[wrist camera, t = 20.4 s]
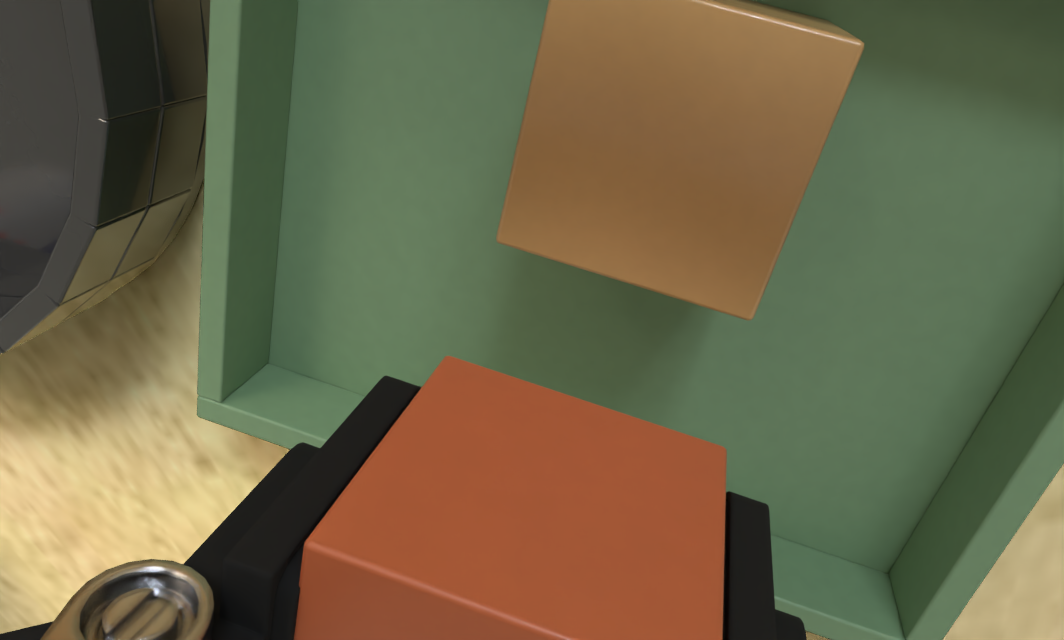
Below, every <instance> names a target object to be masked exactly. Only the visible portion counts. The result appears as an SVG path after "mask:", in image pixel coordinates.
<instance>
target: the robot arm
mask: <svg viewBox="0 0 1064 640" xmlns="http://www.w3.org/2000/svg"><path fill="white" fill-rule="evenodd" d="M420 389H421V387H420V386H417V385H414V384H411V383H408V382H405V381H402V380H399V379H396V378H393V377H390V376H384V377H382V378H381V379H380V380H379V382H378V383H377V384H376V385H375V386H374V387H373V388H372V390H371V391H370V392H369V393H368V394H367V395H366V396H365V398H364V399H363V400H362V401H361V402H360V403H359V404H358V406H357V407H356V408H355V409H354V410H353V411H352V412H351V414H350V415H349V416H348V417H347V418H346V419H345V421H344V422H343V423H342V424H341V425H340V426H339V427H338V429H337V430H336V431H335V432H334V433H333V434H332V435H331V437H330V438H329V439H328V440H327V441H326V442H325V443H324V445H323V446H322V447H321V448H318V447H315V446H313V445H310V444H307V443H304V442H302V443H299V444H297V445H295V446H294V447H293V448H292V449H291V450H290V451H289V452H288V453H287V454H286V455H285V456H284V457H283V458H282V459H281V460H280V461H279V462H278V464H277V465H276V466H275V467H274V468H273V469H272V470H271V471H270V472H269V473H268V474H267V475H266V476H265V477H264V479H263V480H262V481H261V482H260V483H259V484H258V485H257V486H256V487H255V488H254V489H253V490H252V491H251V492H250V494H249V495H248V496H247V497H246V498H245V499H244V500H243V501H242V502H241V503H240V504H239V505H238V506H237V507H236V509H235V510H234V511H233V512H232V513H231V514H230V515H229V516H228V517H227V518H226V519H225V520H224V521H223V522H222V524H221V525H220V526H219V527H218V528H217V529H216V530H215V531H214V532H213V533H212V534H211V535H210V536H209V537H208V539H207V540H206V541H205V542H204V543H203V544H202V545H201V546H200V547H199V548H198V549H197V550H196V551H195V552H194V554H193V555H192V556H191V557H190V558H189V559H188V560H187V561H186V562H185V563H184V564H180V563H177V562H174V561H166V560H154V559H150V560H142V561H134V562H128V563H125V564H122V565H119V566H117V567H114V568H111V569H108V570H106V571H104V572H103V573H101V574H99V575H98V576H96V577H94V578H93V579H91V580H89V581H88V582H87V583H86V584H85V585H84V586H83V587H82V588H81V589H80V590H79V591H78V592H77V593H76V594H75V595H74V596H73V597H72V598H71V599H70V600H69V602H68V603H67V604H66V606H65V607H64V608H63V610H62V611H61V612H60V614H59V615H58V616H57V618H56V619H55V620H54V621H53V622H49V623H45V624H41V625H37V626H32V627H28V628H24V629H20V630H16V631H12V632H7V633H3V634H0V640H294V634H295V626H296V618H297V610H298V602H299V594H300V587H299V580H300V572H301V564H302V556H303V548H304V542H305V541H306V539H307V538H308V537H309V536H310V534H311V533H312V532H313V530H314V529H315V528H316V526H317V525H318V524H319V522H320V521H321V520H322V518H323V517H324V516H325V514H326V513H327V512H328V510H329V509H330V508H331V507H332V505H333V504H334V503H335V501H336V500H337V499H338V497H339V496H340V495H341V493H342V492H343V491H344V489H345V488H346V487H347V485H348V484H349V483H350V481H351V480H352V479H353V477H354V476H355V475H356V474H357V472H358V471H359V470H360V468H361V467H362V466H363V464H364V463H365V462H366V460H367V459H368V458H369V456H370V455H371V454H372V452H373V451H374V450H375V448H376V447H377V446H378V444H379V443H380V442H381V441H382V439H383V438H384V437H385V435H386V434H387V433H388V431H389V430H390V429H391V427H392V426H393V425H394V423H395V422H396V421H397V419H398V418H399V417H400V415H401V414H402V413H403V411H404V410H405V409H406V408H407V406H408V405H409V404H410V402H411V401H412V400H413V398H414V397H415V396H416V394H417V393H418V392H419V390H420ZM723 640H806V632H805V627H804V623H803V621H802V620H801V619H800V618H799V617H796V616H793V615H791V614H788V613H785V612H782V611H779V610H776V609H775V599H774V582H773V565H772V548H771V531H770V514H769V506H768V505H767V504H766V503H763V502H760V501H757V500H754V499H751V498H748V497H745V496H742V495H739V494H736V493H733V492H730V491H728V492H726V509H725V554H724V599H723Z"/></svg>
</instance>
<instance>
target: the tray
mask: <svg viewBox="0 0 1064 640" xmlns="http://www.w3.org/2000/svg"><path fill="white" fill-rule="evenodd" d="M753 1H756V2H760V3H764V4H768V5H772V6H775V7H779V8H783V9H787V10H790V11H794V12H798V13H802V14H806V15H809V16H813V17H817V18H821V19H824V20H828V21H830V22H831V23H833V24H835V25H836V26H838V27H840V28H841V29H843V30H845V31H846V32H848V33H850V34H851V35H853V36H855V37H856V38H858V39H860V40H861V41H862V42H863V43H864V50H863V53H862V55H861V58H860V60H859V63H858V65H857V67H856V70H855V72H854V75H853V77H852V80H851V82H850V85H849V87H848V89H847V92H846V94H845V97H844V99H843V102H842V104H841V106H840V109H839V111H838V114H837V116H836V119H835V121H834V124H833V126H832V128H831V131H830V133H829V136H828V138H827V141H826V143H825V145H824V148H823V150H822V153H821V155H820V158H819V160H818V163H817V165H816V167H815V170H814V172H813V175H812V177H811V180H810V182H809V184H808V187H807V189H806V192H805V194H804V197H803V199H802V202H801V204H800V206H799V209H798V211H797V214H796V216H795V219H794V221H793V224H792V226H791V228H790V231H789V233H788V236H787V238H786V241H785V243H784V245H783V248H782V250H781V253H780V255H779V258H778V260H777V263H776V265H775V267H774V270H773V272H772V275H771V277H770V280H769V282H768V284H767V287H766V289H765V292H764V294H763V297H762V299H761V302H760V304H759V306H758V309H757V311H756V314H755V316H754V318H753V319H752V320H744V319H741V318H738V317H735V316H731V315H728V314H725V313H722V312H719V311H715V310H712V309H709V308H706V307H702V306H699V305H696V304H693V303H690V302H686V301H683V300H680V299H677V298H674V297H670V296H667V295H664V294H661V293H657V292H654V291H651V290H648V289H645V288H641V287H638V286H635V285H632V284H628V283H625V282H622V281H619V280H616V279H612V278H609V277H606V276H603V275H600V274H596V273H593V272H590V271H587V270H583V269H580V268H577V267H574V266H571V265H567V264H564V263H561V262H558V261H554V260H551V259H548V258H545V257H542V256H538V255H535V254H532V253H529V252H525V251H522V250H519V249H516V248H513V247H509V246H506V245H503V244H500V243H498V242H497V240H496V235H497V230H498V226H499V222H500V217H501V213H502V208H503V204H504V199H505V195H506V190H507V186H508V181H509V177H510V172H511V168H512V163H513V159H514V154H515V150H516V145H517V141H518V136H519V132H520V127H521V123H522V118H523V114H524V109H525V105H526V100H527V96H528V91H529V87H530V82H531V78H532V73H533V69H534V64H535V60H536V55H537V51H538V46H539V42H540V37H541V33H542V29H543V24H544V20H545V15H546V11H547V6H548V2H549V0H210V24H209V54H208V84H207V114H206V144H205V174H204V204H203V235H202V265H201V295H200V325H199V355H198V385H197V394H198V395H199V396H198V398H197V416H198V417H200V418H203V419H206V420H208V421H211V422H214V423H217V424H220V425H223V426H225V427H228V428H231V429H234V430H237V431H240V432H243V433H245V434H248V435H251V436H254V437H257V438H260V439H262V440H265V441H268V442H271V443H274V444H277V445H279V446H282V447H285V448H288V449H292V448H293V447H294V446H295V445H297V444H299V443H302V442H304V443H307V444H310V445H313V446H315V447H318V448H321V447H322V446H323V445H324V443H325V442H326V441H327V440H328V439H329V438H330V437H331V435H332V434H333V433H334V432H335V431H336V430H337V429H338V427H339V426H340V425H341V424H342V423H343V422H344V421H345V419H346V418H347V417H348V416H349V415H350V414H351V412H352V411H353V410H354V409H355V408H356V407H357V406H358V404H359V403H360V402H361V401H362V400H363V399H364V398H365V396H366V395H367V394H368V393H369V392H370V391H371V390H372V388H373V387H374V386H375V385H376V384H377V383H378V382H379V380H380V379H381V378H382V377H384V376H390V377H393V378H396V379H399V380H402V381H405V382H408V383H411V384H414V385H417V386H420V387H421V388H422V386H423V385H424V384H425V382H426V381H427V380H428V378H429V377H430V376H431V375H432V373H433V372H434V371H435V369H436V368H437V367H438V365H439V364H440V363H441V361H442V360H443V359H444V357H445V356H452V357H455V358H458V359H461V360H464V361H467V362H470V363H473V364H476V365H479V366H482V367H485V368H488V369H491V370H494V371H497V372H500V373H503V374H506V375H509V376H512V377H515V378H518V379H521V380H524V381H527V382H530V383H533V384H536V385H539V386H542V387H546V388H549V389H552V390H555V391H558V392H561V393H564V394H567V395H570V396H573V397H576V398H579V399H582V400H585V401H588V402H591V403H594V404H597V405H600V406H603V407H606V408H609V409H612V410H615V411H618V412H621V413H624V414H627V415H630V416H633V417H636V418H639V419H642V420H645V421H648V422H651V423H654V424H657V425H660V426H663V427H666V428H669V429H672V430H675V431H678V432H681V433H684V434H687V435H690V436H693V437H696V438H699V439H702V440H705V441H708V442H711V443H714V444H717V445H720V446H723V447H724V448H726V450H727V464H726V492H728V491H730V492H733V493H736V494H739V495H742V496H745V497H748V498H751V499H754V500H757V501H760V502H763V503H766V504H767V505H768V506H769V514H770V531H771V548H772V565H773V582H774V599H775V609H776V610H779V611H782V612H785V613H788V614H791V615H793V616H796V617H799V618H800V619H801V620H802V621H803V623H804V627H805V631H808V632H811V633H813V634H816V635H819V636H822V637H825V638H828V639H830V640H943V638H944V637H945V635H946V634H947V632H948V631H949V629H950V628H951V626H952V625H953V624H954V622H955V621H956V619H957V618H958V616H959V615H960V613H961V612H962V610H963V609H964V607H965V606H966V605H967V603H968V602H969V600H970V599H971V597H972V596H973V594H974V593H975V591H976V590H977V589H978V587H979V586H980V584H981V583H982V581H983V580H984V578H985V577H986V575H987V574H988V573H989V571H990V570H991V568H992V567H993V565H994V564H995V562H996V561H997V559H998V558H999V557H1000V555H1001V554H1002V552H1003V551H1004V549H1005V548H1006V546H1007V545H1008V543H1009V542H1010V541H1011V539H1012V538H1013V536H1014V535H1015V533H1016V532H1017V530H1018V529H1019V527H1020V526H1021V525H1022V523H1023V522H1024V520H1025V519H1026V517H1027V516H1028V514H1029V513H1030V511H1031V510H1032V509H1033V507H1034V506H1035V504H1036V503H1037V501H1038V500H1039V498H1040V497H1041V495H1042V494H1043V493H1044V491H1045V490H1046V488H1047V487H1048V485H1049V484H1050V482H1051V481H1052V479H1053V478H1054V477H1055V475H1056V474H1057V472H1058V471H1059V469H1060V468H1061V466H1062V465H1063V463H1064V0H753Z"/></svg>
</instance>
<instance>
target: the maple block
mask: <svg viewBox="0 0 1064 640" xmlns="http://www.w3.org/2000/svg"><path fill="white" fill-rule="evenodd" d="M863 50H864V43H863V42H862V41H861V40H860V39H858V38H856V37H855V36H853V35H851V34H850V33H848V32H846V31H845V30H843V29H841V28H840V27H838V26H836V25H835V24H833V23H831V22H830V21H828V20H824V19H821V18H817V17H813V16H809V15H806V14H802V13H798V12H794V11H790V10H787V9H783V8H779V7H775V6H772V5H768V4H764V3H760V2H756V1H753V0H549V2H548V6H547V11H546V15H545V20H544V24H543V29H542V33H541V37H540V42H539V46H538V51H537V55H536V60H535V64H534V69H533V73H532V78H531V82H530V87H529V91H528V96H527V100H526V105H525V109H524V114H523V118H522V123H521V127H520V132H519V136H518V141H517V145H516V150H515V154H514V159H513V163H512V168H511V172H510V177H509V181H508V186H507V190H506V195H505V199H504V204H503V208H502V213H501V217H500V222H499V226H498V230H497V235H496V240H497V242H498V243H500V244H503V245H506V246H509V247H513V248H516V249H519V250H522V251H525V252H529V253H532V254H535V255H538V256H542V257H545V258H548V259H551V260H554V261H558V262H561V263H564V264H567V265H571V266H574V267H577V268H580V269H583V270H587V271H590V272H593V273H596V274H600V275H603V276H606V277H609V278H612V279H616V280H619V281H622V282H625V283H628V284H632V285H635V286H638V287H641V288H645V289H648V290H651V291H654V292H657V293H661V294H664V295H667V296H670V297H674V298H677V299H680V300H683V301H686V302H690V303H693V304H696V305H699V306H702V307H706V308H709V309H712V310H715V311H719V312H722V313H725V314H728V315H731V316H735V317H738V318H741V319H744V320H752V319H753V318H754V316H755V314H756V311H757V309H758V306H759V304H760V302H761V299H762V297H763V294H764V292H765V289H766V287H767V284H768V282H769V280H770V277H771V275H772V272H773V270H774V267H775V265H776V263H777V260H778V258H779V255H780V253H781V250H782V248H783V245H784V243H785V241H786V238H787V236H788V233H789V231H790V228H791V226H792V224H793V221H794V219H795V216H796V214H797V211H798V209H799V206H800V204H801V202H802V199H803V197H804V194H805V192H806V189H807V187H808V184H809V182H810V180H811V177H812V175H813V172H814V170H815V167H816V165H817V163H818V160H819V158H820V155H821V153H822V150H823V148H824V145H825V143H826V141H827V138H828V136H829V133H830V131H831V128H832V126H833V124H834V121H835V119H836V116H837V114H838V111H839V109H840V106H841V104H842V102H843V99H844V97H845V94H846V92H847V89H848V87H849V85H850V82H851V80H852V77H853V75H854V72H855V70H856V67H857V65H858V63H859V60H860V58H861V55H862V53H863Z"/></svg>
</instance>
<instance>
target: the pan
mask: <svg viewBox="0 0 1064 640" xmlns="http://www.w3.org/2000/svg"><path fill="white" fill-rule="evenodd" d="M209 24H210V0H0V354H3V353H6V352H8V351H9V350H11V349H13V348H15V347H17V346H19V345H21V344H23V343H25V342H26V341H28V340H30V339H32V338H34V337H36V336H38V335H40V334H41V333H43V332H45V331H47V330H49V329H51V328H53V327H55V326H56V325H58V324H60V323H62V322H64V321H66V320H68V319H70V318H72V317H73V316H75V315H77V314H79V313H81V312H83V311H85V310H87V309H88V308H90V307H92V306H94V305H96V304H98V303H100V302H102V301H103V300H105V299H106V298H108V297H109V296H110V295H111V294H112V293H114V292H115V291H116V290H117V289H119V288H120V287H122V286H124V285H126V284H128V283H130V282H131V281H132V280H133V279H135V278H136V277H137V276H138V275H140V274H141V273H142V272H143V271H144V270H146V269H147V268H148V267H149V266H151V265H152V264H153V263H154V262H155V261H156V260H157V258H158V257H159V256H160V255H161V254H162V253H163V251H164V250H165V249H166V248H167V247H168V246H169V244H170V243H171V242H172V241H173V240H174V238H175V237H176V235H177V233H178V232H179V230H180V228H181V227H182V225H183V223H184V221H185V220H186V218H187V216H188V215H189V213H190V211H191V210H192V207H193V205H194V202H195V200H196V197H197V195H198V192H199V190H200V187H201V185H202V182H203V180H204V174H205V144H206V114H207V84H208V54H209Z"/></svg>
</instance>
